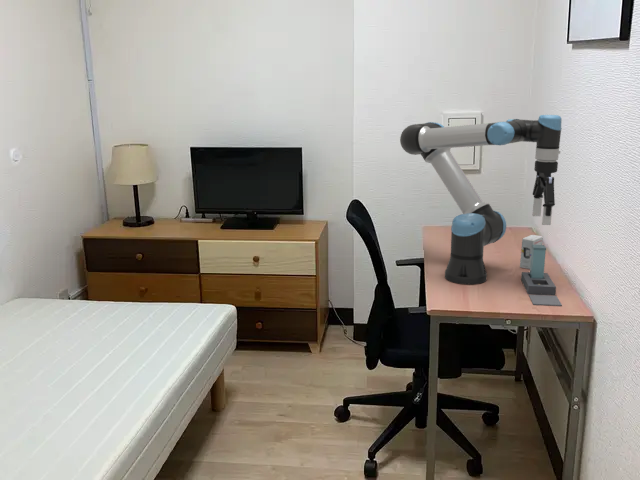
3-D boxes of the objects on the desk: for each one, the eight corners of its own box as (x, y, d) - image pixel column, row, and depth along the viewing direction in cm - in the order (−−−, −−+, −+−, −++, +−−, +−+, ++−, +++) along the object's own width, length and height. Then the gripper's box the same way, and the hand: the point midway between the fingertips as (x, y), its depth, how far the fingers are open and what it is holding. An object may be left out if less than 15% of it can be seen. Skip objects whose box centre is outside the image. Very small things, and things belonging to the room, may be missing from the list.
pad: (561, 306, 207) (562, 305, 206) (533, 304, 208) (533, 303, 208) (556, 296, 215) (556, 295, 215) (528, 295, 216) (528, 294, 216)
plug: (543, 286, 226) (546, 248, 222) (530, 285, 227) (533, 247, 223) (540, 282, 230) (544, 244, 226) (528, 282, 231) (531, 244, 227)
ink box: (529, 262, 254) (531, 234, 251) (541, 265, 251) (543, 236, 248) (519, 267, 248) (521, 238, 245) (531, 270, 245) (533, 240, 242)
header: (555, 295, 217) (556, 287, 216) (528, 294, 218) (528, 285, 217) (546, 280, 232) (547, 272, 231) (521, 279, 233) (521, 271, 232)
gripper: (568, 165, 207) (562, 228, 213) (548, 155, 231) (543, 212, 237) (544, 165, 208) (539, 228, 213) (527, 155, 232) (522, 212, 237)
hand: (541, 220), depth 225 cm, fingers open, 13 cm apart
